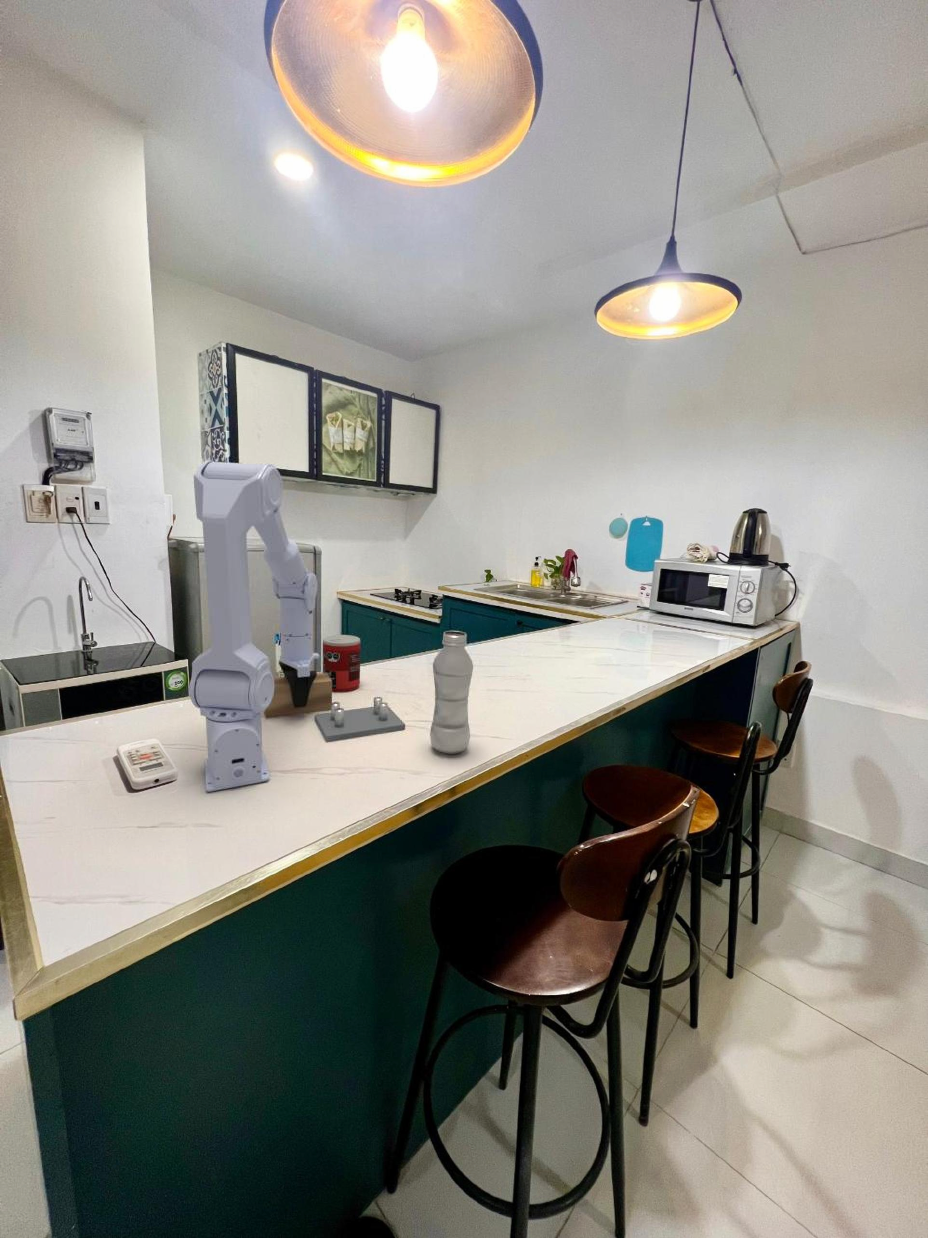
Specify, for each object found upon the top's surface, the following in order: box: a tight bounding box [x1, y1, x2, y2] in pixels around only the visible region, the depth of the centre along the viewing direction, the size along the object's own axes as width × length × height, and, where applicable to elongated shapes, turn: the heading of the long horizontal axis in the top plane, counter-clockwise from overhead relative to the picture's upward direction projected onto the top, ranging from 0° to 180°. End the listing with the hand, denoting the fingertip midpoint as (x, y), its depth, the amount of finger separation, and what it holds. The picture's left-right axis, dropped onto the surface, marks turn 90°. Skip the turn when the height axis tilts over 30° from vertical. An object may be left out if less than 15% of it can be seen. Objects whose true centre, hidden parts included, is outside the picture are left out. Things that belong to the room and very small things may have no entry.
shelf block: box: [263, 673, 333, 720], centre depth 94 cm, size 5×12×6 cm, turn 118°
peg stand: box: [314, 696, 406, 743], centre depth 89 cm, size 10×14×4 cm
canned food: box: [322, 634, 361, 693], centre depth 107 cm, size 8×8×11 cm
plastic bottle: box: [429, 630, 474, 755], centre depth 80 cm, size 6×7×20 cm
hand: (297, 701), depth 94 cm, fingers closed on shelf block, 5 cm apart
